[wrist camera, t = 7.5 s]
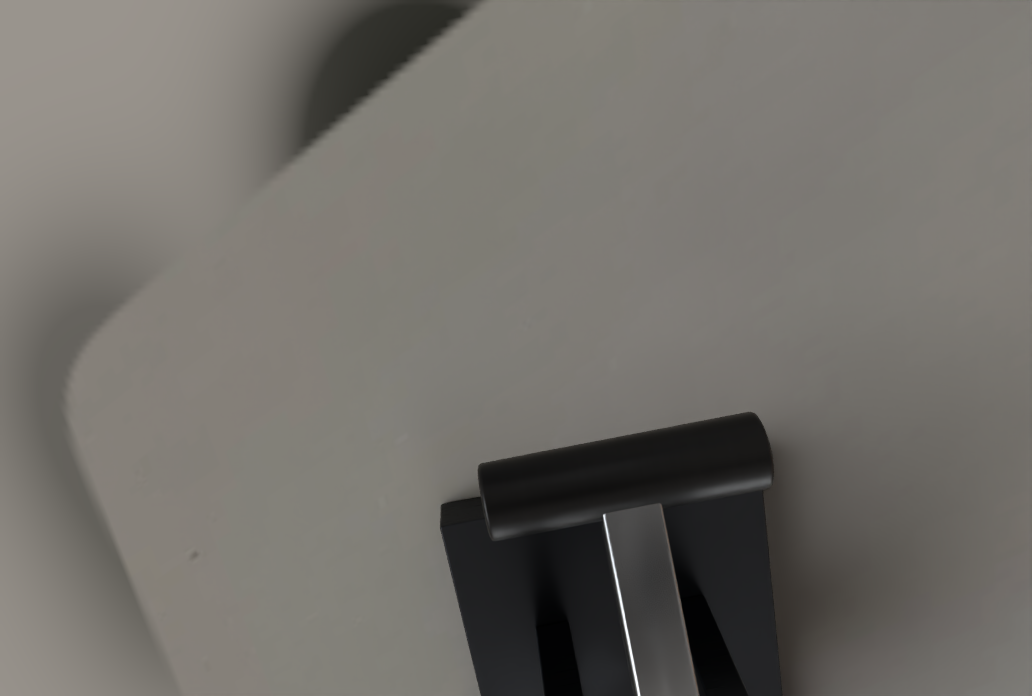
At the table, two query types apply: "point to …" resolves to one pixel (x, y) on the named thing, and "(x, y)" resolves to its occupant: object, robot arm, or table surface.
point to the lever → (633, 519)
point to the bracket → (612, 602)
